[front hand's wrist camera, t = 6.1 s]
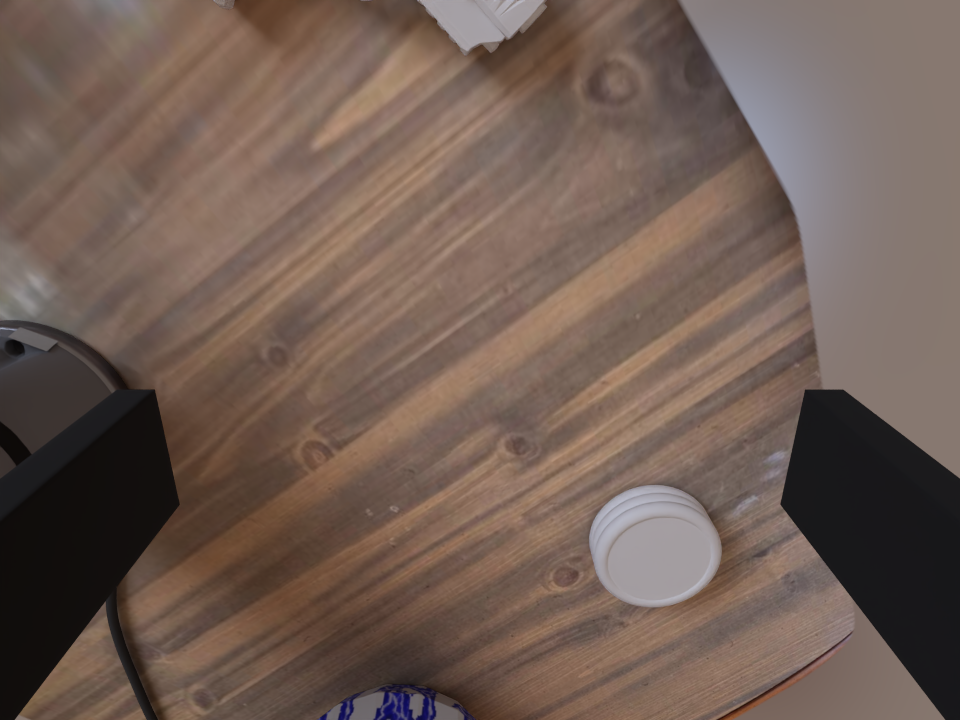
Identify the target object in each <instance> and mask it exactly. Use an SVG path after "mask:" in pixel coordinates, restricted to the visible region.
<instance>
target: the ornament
mask: <svg viewBox="0 0 960 720" xmlns="http://www.w3.org/2000/svg"><path fill="white" fill-rule="evenodd" d="M318 720H476V719H475V718H474V717H473V716H472V715H471V714H470V713H469V712H468V711H467V710H466V709H465V708H464V707H463V706H462V705H461V704H460V703H459V702H458V701H456V700H454V699H452V698H449V697H447V696H445V695H443V694H441V693H438V692H436V691H434V690H432V689H430V688H427V687H425V686H419V685H397V684H385V685H382V686H379V687H376V688H373V689H370V690H367V691H364V692H361V693H357V694H354V695H351V696H349V697H347V698H346V699H345V700H343V701H342V702H340V703H339V704H338V705H336V706H335V707H334V708H332V709H331V710H330V711H328V712H327V713H326V714H324V715H323V716H322V717H320V718H319V719H318Z"/></svg>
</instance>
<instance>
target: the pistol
mask: <svg viewBox="0 0 960 720" xmlns="http://www.w3.org/2000/svg"><path fill="white" fill-rule="evenodd" d="M213 1H214V2H215V3H216V4H217V5H218V6H219V7H221V8H225V9H228V10H229V9H233V6H234V1H235V0H213ZM360 1H372V0H360ZM417 1H418V2H419V3H420V4H421V5H424V6H425V7H426V11H427V12H428V14H429V15H430V16H431V17H432V18H435V19H436V20H437V21H438V22H437V24H438V25H439V26H440V27H441V29H443V31H444V30H446V32H447V33H448V34H449V36H448V37H449V38H450V39H451V40H452V41H453V42H454V43H457V44H458V45H459V47H460V50H461V52H462V53H463V54H464V55H465V56H467V55H468V54H469V53H470V52H471V51H472V50H473V49H474V48H476V47H478V46H480V45H483V46H484V47H485V48H486V49H487V50H488V51H489V52H490V53H492V52H493V51H495V50H496V49H497V47H498V45H499V43H501V42H502V41H503V40H504V39H506V40H509V39H511V38H512V37H513V36H514V35H515V34H516V33H517V32H518V31H520V32H521V33H524V32H525V31H526V30H527V29H528V28H529V27H530V26H531V25H532V24H533V23H534V22H535V20H536V19H537V18H538V17H539V16H540V15H541V14H542V13H543V11H544V10H545V9H546V8H547V6H546V5H545V2H546V1H547V0H417Z"/></svg>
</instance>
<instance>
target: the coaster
mask: <svg viewBox="0 0 960 720" xmlns="http://www.w3.org/2000/svg"><path fill="white" fill-rule="evenodd" d="M589 546H590V551H591V554H592V559H593V562H594V567H595V570H596V574H597V576H598V578H599V580H600V581H601V583H602V584H603V586H604V587H605V588H606V589H607V590H608V591H609V592H610V593H611V594H612V595H614V596H615V597H617V598H618V599H620V600H622V601H624V602H626V603H629V604H632V605H636V606H641V607H664V606H670V605H673V604H677V603H680V602H682V601H685V600H687V599H689V598H691V597H692V596H694V595H696V594H697V593H698V592H700V591H701V590H702V589H703V588H704V587H705V586H706V585H707V584H708V583H709V582H710V581H711V580H712V578H713V577H714V575H715V574H716V572H717V570H718V568H719V565H720V562H721V556H722V546H721V540H720V537H719V534H718V531H717V530H716V528H715V526H714V525H713V523H712V521H711V519H710V517H709V516H708V514H707V512H706V510H705V509H704V507H703V506H702V505H701V504H700V503H699V502H698V501H697V500H696V499H695V498H694V497H692V496H691V495H689V494H688V493H686V492H684V491H682V490H680V489H677V488H674V487H670V486H664V485H645V486H640V487H636V488H632V489H630V490H627V491H625V492H623V493H621V494H619V495H617V496H616V497H614V498H613V499H611V500H610V501H609V502H608V503H607V504H605V506H604V507H603V508H602V509H601V510H600V511H599V513H598V514H597V516H596V517H595V519H594V521H593V524H592V526H591V531H590V535H589Z"/></svg>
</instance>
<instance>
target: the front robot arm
mask: <svg viewBox="0 0 960 720" xmlns="http://www.w3.org/2000/svg"><path fill="white" fill-rule="evenodd" d="M179 505H180V504H179V499H178V495H177V490H176V485H175V481H174V476H173V472H172V467H171V462H170V458H169V453H168V448H167V444H166V439H165V435H164V430H163V425H162V421H161V416H160V411H159V407H158V402H157V398H156V393H155V390H128V389H127V387H126V385H125V384H124V382H123V381H122V379H121V378H120V376H119V375H118V374H117V373H116V371H115V370H114V369H113V368H112V367H111V366H110V365H109V364H108V362H107V361H106V360H104V359H103V358H102V357H101V356H100V355H99V354H98V353H96V352H95V351H94V350H93V349H91V348H90V347H89V346H87V345H86V344H84V343H83V342H81V341H79V340H78V339H76V338H74V337H72V336H70V335H68V334H66V333H64V332H62V331H60V330H57V329H54V328H52V327H49V326H45V325H42V324H38V323H33V322H27V321H18V320H4V321H0V720H15V719H16V717H17V716H18V715H19V713H20V712H21V711H22V709H23V708H24V707H25V706H26V704H27V703H28V702H29V700H30V699H31V698H32V696H33V695H34V694H35V693H36V691H37V690H38V689H39V687H40V686H41V685H42V683H43V682H44V681H45V679H46V678H47V677H48V676H49V674H50V673H51V672H52V670H53V669H54V668H55V666H56V665H57V664H58V663H59V661H60V660H61V659H62V657H63V656H64V655H65V653H66V652H67V651H68V649H69V648H70V647H71V646H72V644H73V643H74V642H75V640H76V639H77V638H78V636H79V635H80V634H81V632H82V631H83V630H84V629H85V627H86V626H87V625H88V623H89V622H90V621H91V619H92V618H93V617H94V616H95V614H96V613H97V612H98V610H99V609H100V608H101V606H102V605H103V604H104V602H105V601H106V611H107V618H108V623H109V627H110V631H111V634H112V638H113V641H114V644H115V647H116V649H117V652H118V655H119V657H120V660H121V662H122V665H123V667H124V669H125V672H126V674H127V676H128V679H129V681H130V683H131V686H132V688H133V690H134V693H135V695H136V697H137V700H138V702H139V704H140V706H141V709H142V711H143V713H144V715H145V717H146V719H147V720H158V719H157V717H156V715H155V713H154V711H153V709H152V706H151V704H150V702H149V700H148V698H147V695H146V693H145V690H144V688H143V686H142V683H141V681H140V678H139V676H138V674H137V671H136V669H135V667H134V664H133V662H132V659H131V657H130V654H129V652H128V649H127V646H126V644H125V641H124V638H123V634H122V631H121V627H120V623H119V619H118V613H117V602H116V587H117V586H118V584H119V583H120V582H121V580H122V579H123V578H124V576H125V575H126V574H127V572H128V571H129V570H130V569H131V567H132V566H133V565H134V563H135V562H136V561H137V559H138V558H139V557H140V556H141V554H142V553H143V552H144V550H145V549H146V548H147V546H148V545H149V544H150V542H151V541H152V540H153V539H154V537H155V536H156V535H157V533H158V532H159V531H160V529H161V528H162V527H163V526H164V524H165V523H166V522H167V520H168V519H169V518H170V516H171V515H172V514H173V512H174V511H175V510H176V509H177V507H178V506H179ZM780 505H781V506H782V507H783V509H784V510H785V511H786V512H787V514H788V515H789V516H790V518H791V519H792V520H793V522H794V523H795V524H796V526H797V527H798V528H799V529H800V531H801V532H802V533H803V535H804V536H805V537H806V539H807V540H808V541H809V542H810V544H811V545H812V546H813V548H814V549H815V550H816V552H817V553H818V554H819V556H820V557H821V558H822V559H823V561H824V562H825V563H826V565H827V566H828V567H829V569H830V570H831V571H832V572H833V574H834V575H835V576H836V578H837V579H838V580H839V582H840V583H841V584H842V586H843V587H844V588H845V589H846V591H847V592H848V593H849V595H850V596H851V597H852V599H853V600H854V601H855V602H856V604H857V605H858V606H859V608H860V609H861V610H862V612H863V613H864V614H865V616H866V617H867V618H868V619H869V621H870V622H871V623H872V625H873V626H874V627H875V629H876V630H877V631H878V632H879V634H880V635H881V636H882V638H883V639H884V640H885V641H886V643H887V644H888V646H889V647H890V648H891V649H892V651H893V652H894V653H895V655H896V656H897V657H898V659H899V660H900V661H901V663H902V664H903V665H904V666H905V668H906V669H907V670H908V672H909V673H910V674H911V676H912V677H913V678H914V679H915V681H916V682H917V683H918V685H919V686H920V687H921V689H922V690H923V691H924V692H925V694H926V695H927V696H928V698H929V699H930V700H931V702H932V703H933V704H934V705H935V707H936V708H937V709H938V711H939V712H940V713H941V715H942V716H943V717H944V719H945V720H960V478H958V477H957V476H956V475H954V474H953V473H952V472H950V471H949V470H948V469H946V468H945V467H944V466H943V465H941V464H940V463H939V462H937V461H936V460H935V459H933V458H932V457H931V456H929V455H928V454H927V453H926V452H924V451H923V450H922V449H920V448H919V447H918V446H916V445H915V444H914V443H912V442H911V441H910V440H908V439H907V438H906V437H905V436H903V435H902V434H901V433H899V432H898V431H897V430H895V429H894V428H893V427H891V426H890V425H889V424H888V423H886V422H885V421H884V420H882V419H881V418H880V417H878V416H877V415H876V414H874V413H873V412H872V411H870V410H869V409H868V408H866V407H865V406H864V405H863V404H861V403H860V402H859V401H857V400H856V399H855V398H853V397H852V396H851V395H849V394H848V393H847V392H846V391H844V390H805V393H804V398H803V402H802V407H801V411H800V416H799V421H798V425H797V430H796V435H795V439H794V444H793V448H792V453H791V458H790V462H789V467H788V472H787V476H786V481H785V485H784V490H783V495H782V499H781V504H780Z"/></svg>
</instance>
